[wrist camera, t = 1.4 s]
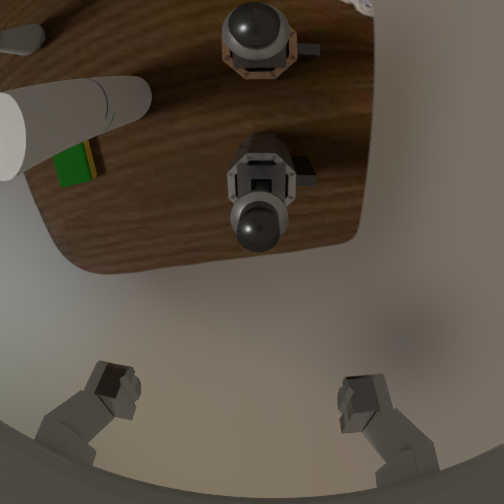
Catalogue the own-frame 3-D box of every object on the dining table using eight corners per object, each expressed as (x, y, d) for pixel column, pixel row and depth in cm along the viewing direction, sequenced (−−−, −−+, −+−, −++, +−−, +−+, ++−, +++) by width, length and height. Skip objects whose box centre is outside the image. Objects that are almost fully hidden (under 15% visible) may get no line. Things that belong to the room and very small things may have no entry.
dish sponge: (68, 183, 43) (61, 188, 41) (50, 110, 35) (42, 112, 33) (98, 175, 42) (91, 180, 40) (81, 96, 34) (72, 98, 32)
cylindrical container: (155, 76, 33) (27, 88, 12) (148, 123, 37) (29, 184, 16) (112, 75, 33) (-24, 97, 12) (107, 120, 36) (-20, 178, 15)
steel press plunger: (241, 158, 30) (224, 204, 19) (283, 158, 29) (291, 204, 19) (242, 196, 32) (228, 259, 22) (282, 196, 32) (288, 260, 21)
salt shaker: (35, 22, 25) (-17, 22, 14) (54, 26, 26) (0, 25, 16) (23, 51, 28) (-30, 58, 17) (41, 57, 29) (-14, 64, 18)
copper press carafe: (235, 36, 30) (219, 13, 19) (306, 36, 29) (324, 14, 18) (237, 81, 33) (221, 79, 22) (306, 82, 33) (325, 80, 22)
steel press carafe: (238, 132, 37) (225, 155, 26) (305, 133, 37) (322, 156, 26) (240, 178, 41) (228, 219, 30) (304, 179, 41) (317, 220, 29)
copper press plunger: (237, 29, 22) (215, -5, 12) (282, 29, 22) (291, -8, 11) (238, 69, 24) (217, 58, 14) (283, 68, 24) (293, 56, 14)
